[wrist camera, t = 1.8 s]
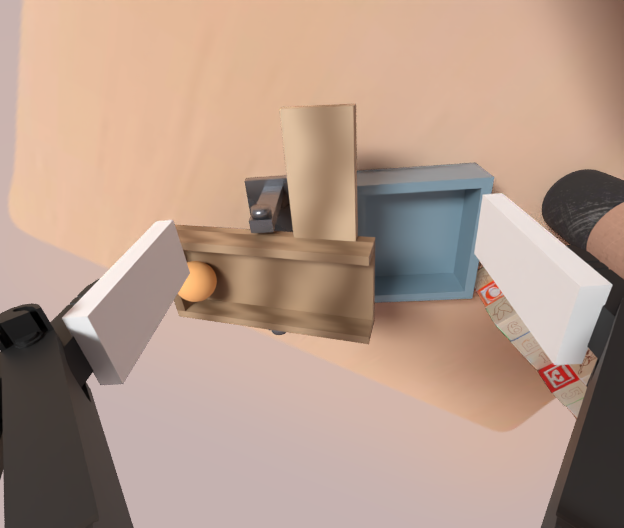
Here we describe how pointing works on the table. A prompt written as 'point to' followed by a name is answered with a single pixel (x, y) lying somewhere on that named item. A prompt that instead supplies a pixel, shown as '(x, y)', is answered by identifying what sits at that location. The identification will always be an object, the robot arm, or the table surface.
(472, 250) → the tub
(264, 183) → the stand
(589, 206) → the travel mug
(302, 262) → the chute
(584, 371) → the stack of blocks
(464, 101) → the table surface
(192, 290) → the ball
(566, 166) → the table surface
